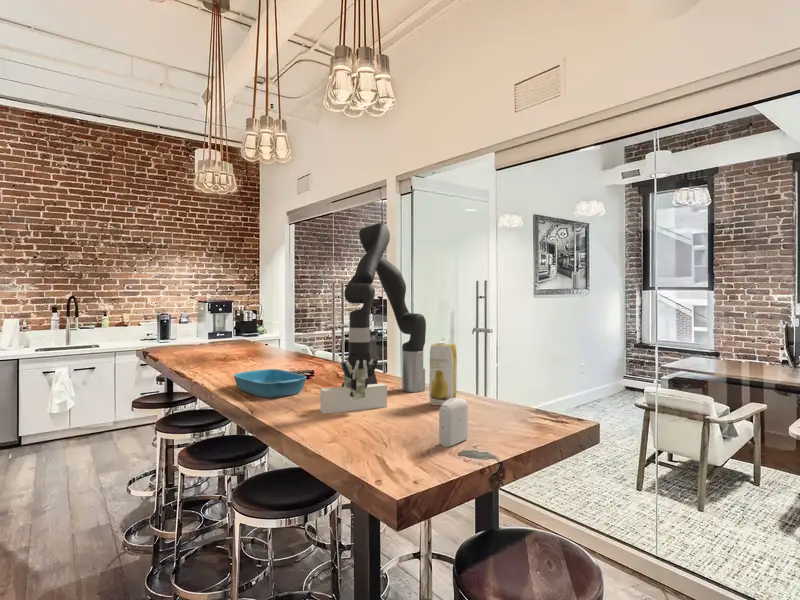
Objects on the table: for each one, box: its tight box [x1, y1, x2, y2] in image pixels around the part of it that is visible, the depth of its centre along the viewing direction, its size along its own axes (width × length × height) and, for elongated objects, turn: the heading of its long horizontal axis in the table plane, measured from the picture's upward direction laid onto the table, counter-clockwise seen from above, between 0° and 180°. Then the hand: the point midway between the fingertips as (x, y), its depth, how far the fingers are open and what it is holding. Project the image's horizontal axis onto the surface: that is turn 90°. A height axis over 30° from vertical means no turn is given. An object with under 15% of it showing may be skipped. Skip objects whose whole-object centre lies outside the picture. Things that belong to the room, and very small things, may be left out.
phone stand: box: [367, 362, 378, 385], centre depth 201 cm, size 9×6×12 cm, turn 48°
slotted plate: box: [343, 363, 365, 398], centre depth 165 cm, size 3×14×10 cm, turn 26°
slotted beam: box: [319, 382, 388, 415], centre depth 166 cm, size 24×4×8 cm, turn 116°
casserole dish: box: [233, 368, 307, 399], centre depth 195 cm, size 37×22×7 cm, turn 44°
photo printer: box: [438, 397, 469, 448], centre depth 130 cm, size 10×4×12 cm, turn 139°
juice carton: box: [428, 340, 458, 406], centre depth 174 cm, size 9×8×24 cm
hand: (358, 389), depth 161 cm, fingers closed on slotted plate, 3 cm apart
